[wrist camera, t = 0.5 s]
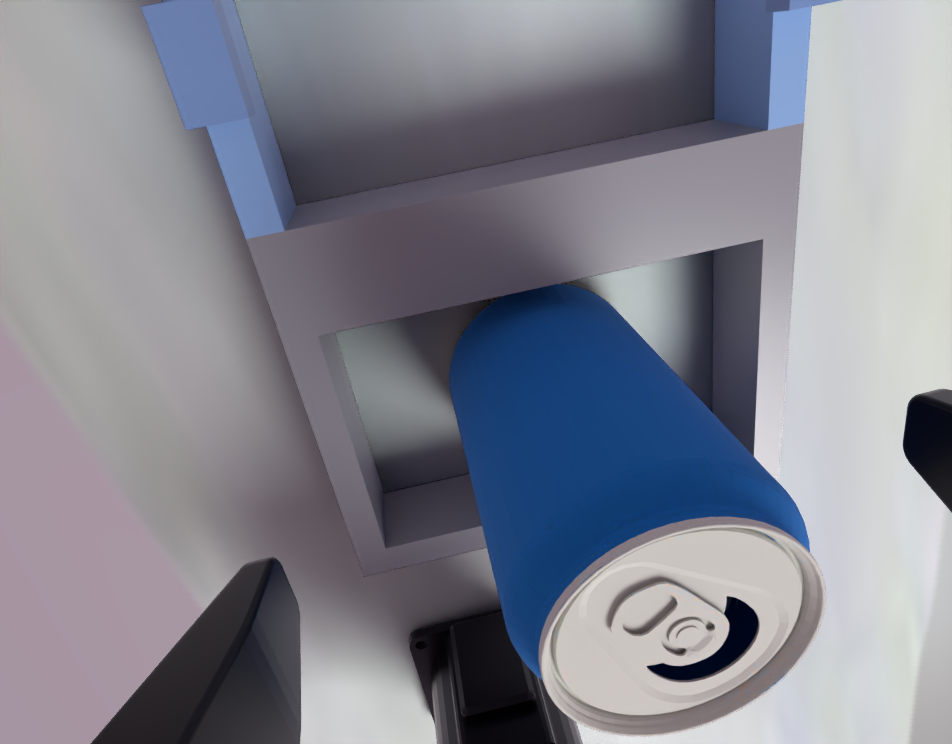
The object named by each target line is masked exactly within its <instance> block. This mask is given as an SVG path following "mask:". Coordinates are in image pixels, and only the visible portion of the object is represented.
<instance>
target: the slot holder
mask: <svg viewBox="0 0 952 744" xmlns="http://www.w3.org/2000/svg"><path fill="white" fill-rule="evenodd" d="M836 1H841V0H715V99H714V119H712V120H708V121H703V122H698V123H693V124H688V125H683V126H678V127H674V128H669V129H664V130H659V131H654V132H649V133H645V134H640V135H635V136H630V137H625V138H620V139H616V140H611V141H606V142H601V143H596V144H591V145H587V146H582V147H577V148H572V149H567V150H562V151H557V152H553V153H548V154H543V155H538V156H533V157H528V158H524V159H519V160H514V161H509V162H504V163H499V164H495V165H490V166H485V167H480V168H475V169H470V170H466V171H461V172H456V173H451V174H446V175H441V176H436V177H432V178H427V179H422V180H417V181H412V182H407V183H403V184H398V185H393V186H388V187H383V188H378V189H374V190H369V191H364V192H359V193H354V194H349V195H345V196H340V197H335V198H330V199H325V200H320V201H315V202H311V203H306V204H301V205H296V203H295V200H294V196H293V193H292V190H291V187H290V183H289V180H288V177H287V173H286V170H285V167H284V163H283V160H282V157H281V154H280V150H279V147H278V144H277V140H276V137H275V134H274V131H273V127H272V124H271V121H270V117H269V114H268V111H267V108H266V104H265V101H264V98H263V94H262V91H261V88H260V85H259V81H258V78H257V75H256V71H255V68H254V65H253V61H252V58H251V55H250V52H249V48H248V45H247V42H246V38H245V35H244V32H243V29H242V25H241V22H240V19H239V15H238V12H237V9H236V6H235V2H234V0H162V2H163V3H158V4H153V5H147V6H142V7H141V9H142V12H143V14H144V17H145V20H146V23H147V25H148V28H149V31H150V34H151V36H152V39H153V42H154V44H155V47H156V50H157V53H158V55H159V58H160V61H161V64H162V66H163V69H164V72H165V75H166V77H167V80H168V83H169V85H170V88H171V91H172V94H173V96H174V99H175V102H176V105H177V107H178V110H179V113H180V116H181V118H182V121H183V124H184V127H185V129H186V130H191V129H196V128H201V127H207V130H208V133H209V136H210V139H211V142H212V145H213V147H214V150H215V153H216V156H217V159H218V162H219V165H220V167H221V170H222V173H223V176H224V179H225V182H226V185H227V187H228V190H229V193H230V196H231V199H232V202H233V205H234V207H235V210H236V213H237V216H238V219H239V222H240V225H241V227H242V230H243V233H244V236H245V239H246V242H247V245H248V247H249V250H250V253H251V256H252V259H253V262H254V265H255V267H256V270H257V273H258V276H259V279H260V282H261V285H262V287H263V290H264V293H265V296H266V299H267V302H268V304H269V307H270V310H271V313H272V316H273V319H274V322H275V324H276V327H277V330H278V333H279V336H280V339H281V342H282V344H283V347H284V350H285V353H286V356H287V359H288V362H289V364H290V367H291V370H292V373H293V376H294V379H295V382H296V384H297V387H298V390H299V393H300V396H301V399H302V402H303V404H304V407H305V410H306V413H307V416H308V419H309V422H310V424H311V427H312V430H313V433H314V436H315V439H316V442H317V444H318V447H319V450H320V453H321V456H322V459H323V462H324V464H325V467H326V470H327V473H328V476H329V479H330V482H331V484H332V487H333V490H334V493H335V496H336V499H337V501H338V504H339V507H340V510H341V513H342V516H343V519H344V521H345V524H346V527H347V530H348V533H349V536H350V539H351V541H352V544H353V547H354V550H355V553H356V556H357V559H358V561H359V564H360V567H361V570H362V573H363V576H364V577H366V576H370V575H374V574H378V573H382V572H386V571H391V570H395V569H399V568H403V567H407V566H412V565H416V564H420V563H424V562H428V561H432V560H437V559H441V558H445V557H449V556H453V555H458V554H462V553H466V552H470V551H474V550H479V549H483V548H487V544H486V540H485V536H484V532H483V528H482V523H481V519H480V515H479V511H478V507H477V502H476V498H475V494H474V490H473V485H472V481H471V477H470V474H466V475H462V476H458V477H453V478H449V479H445V480H440V481H436V482H432V483H427V484H423V485H419V486H414V487H410V488H406V489H402V490H397V491H393V492H389V493H383V489H382V486H381V483H380V479H379V476H378V473H377V469H376V466H375V463H374V460H373V456H372V453H371V450H370V446H369V443H368V440H367V437H366V433H365V430H364V427H363V423H362V420H361V417H360V414H359V410H358V407H357V404H356V400H355V397H354V394H353V391H352V387H351V384H350V381H349V377H348V374H347V371H346V367H345V364H344V361H343V358H342V354H341V351H340V348H339V344H338V341H337V338H336V335H335V332H339V331H343V330H348V329H353V328H357V327H362V326H366V325H371V324H375V323H380V322H385V321H389V320H394V319H398V318H403V317H408V316H412V315H417V314H421V313H426V312H431V311H435V310H440V309H444V308H449V307H453V306H458V305H463V304H467V303H472V302H476V301H481V300H486V299H490V298H495V297H499V296H504V295H509V294H513V293H518V292H522V291H527V290H531V289H536V288H541V287H545V286H550V285H554V284H559V283H564V282H568V281H573V280H577V279H582V278H587V277H591V276H596V275H600V274H605V273H609V272H614V271H619V270H623V269H628V268H632V267H637V266H642V265H646V264H651V263H655V262H660V261H665V260H669V259H674V258H678V257H683V256H687V255H692V254H697V253H701V252H706V251H710V250H714V265H713V414H714V415H715V416H716V417H717V418H718V419H719V420H720V421H721V422H722V423H723V424H724V426H725V427H726V428H727V429H728V430H729V431H730V432H731V433H732V434H733V435H734V436H735V437H736V438H737V439H738V440H739V441H740V443H741V444H742V445H743V446H744V447H745V448H746V449H747V450H748V451H749V452H750V453H751V454H752V455H753V456H754V457H755V458H756V460H757V461H758V462H759V463H760V464H761V465H762V466H763V467H764V468H765V469H766V470H767V471H768V472H769V473H770V474H771V475H772V477H773V478H774V479H776V478H779V476H780V462H781V447H782V433H783V418H784V403H785V389H786V374H787V360H788V345H789V331H790V316H791V301H792V287H793V272H794V258H795V243H796V228H797V214H798V199H799V185H800V170H801V155H802V141H803V126H804V112H805V97H806V82H807V68H808V53H809V39H810V24H811V9H812V6H815V5H821V4H826V3H831V2H836Z"/></svg>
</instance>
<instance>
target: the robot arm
mask: <svg viewBox="0 0 952 744" xmlns="http://www.w3.org/2000/svg"><path fill="white" fill-rule="evenodd" d="M903 450H904V453H905V456H906V458H907V459H908V461H909V462H910V464H911V465H912V466H913V467H914V469H915V470H916V471H917V472H918V473H919V474H920V476H921V477H922V478H923V479H924V480H925V481H926V483H927V484H928V485H929V486H930V487H931V489H932V490H933V491H934V492H935V493H936V494H937V496H938V497H939V498H940V499H941V500H942V502H943V503H944V504H945V505H946V506H947V507H948V509H949V510H950V511H951V512H952V390H948V389H938V390H934V391H930V392H926V393H922V394H918V395H916V396H914V397H913V398H911V400H910V402H909V403H908V407H907V415H906V422H905V430H904V438H903ZM419 641H422V642H419ZM409 643H410V650H411V653H412V656H413V659H414V662H415V665H416V668H417V671H418V674H419V677H420V680H421V684H422V687H423V690H424V693H425V696H426V699H427V702H428V705H429V708H430V711H431V714H432V717H433V720H434V723H435V728H436V738H437V744H583V743H582V740H581V737H580V733H579V730H578V727H577V724H576V721H574V720H572V719H571V718H570V717H568V716H567V715H566V714H564V713H563V712H562V711H561V710H560V709H559V708H558V707H557V706H556V705H555V704H554V702H553V700H552V699H551V697H550V696H549V694H548V692H547V690H546V688H545V685H544V682H543V680H541V679H540V678H539V677H538V676H536V675H535V674H534V673H533V672H532V670H531V669H530V668H529V667H528V666H527V665H526V664H525V663H524V662H523V660H522V659H521V657H520V656H519V654H518V653H517V651H516V650H515V648H514V646H513V644H512V642H511V640H510V637H509V635H508V632H507V629H506V624H505V620H504V616H503V612H502V609H500V610H496V611H492V612H488V613H484V614H480V615H476V616H472V617H468V618H464V619H460V620H455V621H451V622H447V623H443V624H439V625H435V626H431V627H427V628H423V629H419V630H416V631H414V632H413V633H411V635H410V637H409ZM300 733H301V658H300V613H299V607H298V603H297V600H296V597H295V595H294V593H293V590H292V588H291V586H290V584H289V581H288V579H287V577H286V574H285V572H284V570H283V567H282V565H281V563H280V562H279V561H278V560H277V559H276V558H273V557H270V558H266V559H262V560H258V561H254V562H250V563H247V564H245V565H244V566H243V567H242V568H241V569H240V570H239V571H238V572H237V573H236V575H235V576H234V577H233V578H232V579H231V580H230V582H229V583H228V584H227V585H226V586H225V587H224V589H223V590H222V591H221V592H220V593H219V594H218V596H217V597H216V598H215V599H214V600H213V602H212V603H211V604H210V605H209V606H208V607H207V609H206V610H205V611H204V612H203V613H202V614H201V616H200V617H199V618H198V619H197V620H196V621H195V623H194V624H193V625H192V626H191V627H190V628H189V630H188V631H187V632H186V633H185V634H184V635H183V637H182V638H181V639H180V640H179V641H178V643H177V644H176V645H175V646H174V647H173V648H172V649H171V651H170V652H169V653H168V654H167V655H166V656H165V658H164V659H163V660H162V661H161V662H160V663H159V665H158V666H157V667H156V668H155V669H154V671H153V672H152V673H151V674H150V675H149V676H148V677H147V679H146V680H145V681H144V682H143V683H142V684H141V686H140V687H139V688H138V689H137V690H136V691H135V693H134V694H133V695H132V696H131V697H130V698H129V700H128V701H127V702H126V703H125V704H124V705H123V707H122V708H121V709H120V710H119V711H118V712H117V714H116V715H115V716H114V717H113V718H112V719H111V721H110V722H109V723H108V724H107V725H106V727H105V728H104V729H103V730H102V731H101V732H100V733H99V735H98V736H97V737H96V738H95V739H94V740H93V742H92V743H91V744H300Z"/></svg>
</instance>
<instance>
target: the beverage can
mask: <svg viewBox="0 0 952 744" xmlns="http://www.w3.org/2000/svg"><path fill="white" fill-rule="evenodd" d="M449 383H450V392H451V397H452V401H453V405H454V410H455V414H456V418H457V422H458V427H459V431H460V435H461V439H462V443H463V448H464V452H465V456H466V460H467V464H468V469H469V473H470V477H471V481H472V485H473V490H474V494H475V498H476V502H477V507H478V511H479V515H480V519H481V523H482V528H483V532H484V536H485V540H486V544H487V549H488V553H489V557H490V561H491V565H492V570H493V574H494V578H495V582H496V587H497V591H498V595H499V599H500V603H501V608H502V612H503V616H504V620H505V624H506V629H507V632H508V635H509V637H510V640H511V642H512V644H513V646H514V648H515V650H516V651H517V653H518V654H519V656H520V657H521V659H522V660H523V662H524V663H525V664H526V665H527V666H528V667H529V668H530V669H531V670H532V672H533V673H534V674H535V675H536V676H538V677H539V678H540V679H541V680H543V682H544V685H545V688H546V690H547V692H548V694H549V696H550V697H551V699H552V700H553V702H554V704H555V705H556V706H557V707H558V708H559V709H560V710H561V711H562V712H563V713H564V714H566V715H567V716H568V717H570V718H571V719H572V720H574V721H576V722H578V723H580V724H582V725H584V726H585V727H588V728H591V729H594V730H597V731H600V732H604V733H609V734H613V735H621V736H640V737H646V736H659V735H666V734H672V733H678V732H683V731H687V730H691V729H695V728H698V727H701V726H704V725H707V724H710V723H713V722H715V721H717V720H720V719H722V718H724V717H727V716H729V715H731V714H733V713H735V712H737V711H739V710H741V709H743V708H744V707H746V706H748V705H749V704H751V703H753V702H754V701H756V700H757V699H759V698H760V697H762V696H763V695H764V694H766V693H767V692H769V691H770V690H771V689H773V688H774V687H775V686H776V685H777V684H778V683H779V682H781V681H782V680H783V679H784V678H785V677H786V676H787V675H788V674H789V673H790V672H791V671H792V670H793V669H794V668H795V667H796V666H797V664H798V663H799V662H800V660H801V659H802V658H803V657H804V655H805V654H806V653H807V651H808V649H809V648H810V646H811V645H812V643H813V641H814V639H815V637H816V635H817V633H818V631H819V629H820V626H821V623H822V619H823V616H824V612H825V605H826V587H825V583H824V579H823V575H822V573H821V571H820V568H819V566H818V564H817V562H816V561H815V559H814V558H813V556H812V555H811V554H810V547H809V539H808V535H807V531H806V527H805V523H804V520H803V518H802V516H801V514H800V512H799V510H798V508H797V506H796V504H795V502H794V501H793V500H792V498H791V497H790V495H789V494H788V493H787V491H786V490H785V489H784V488H783V487H782V486H781V485H780V484H779V483H778V482H777V481H776V480H775V479H774V478H773V477H772V475H771V474H770V473H769V472H768V471H767V470H766V469H765V468H764V467H763V466H762V465H761V464H760V463H759V462H758V461H757V460H756V458H755V457H754V456H753V455H752V454H751V453H750V452H749V451H748V450H747V449H746V448H745V447H744V446H743V445H742V444H741V443H740V441H739V440H738V439H737V438H736V437H735V436H734V435H733V434H732V433H731V432H730V431H729V430H728V429H727V428H726V427H725V426H724V424H723V423H722V422H721V421H720V420H719V419H718V418H717V417H716V416H715V415H714V414H713V413H712V412H711V411H710V410H709V409H708V407H707V406H706V405H705V404H704V403H703V402H702V401H701V400H700V399H699V398H698V397H697V396H696V395H695V394H694V393H693V392H692V390H691V389H690V388H689V387H688V386H687V385H686V384H685V383H684V382H683V381H682V380H681V379H680V378H679V377H678V376H677V374H676V373H675V372H674V371H673V370H672V369H671V368H670V367H669V366H668V365H667V364H666V363H665V362H664V361H663V360H662V359H661V357H660V356H659V355H658V354H657V353H656V352H655V351H654V350H653V349H652V348H651V347H650V346H649V345H648V344H647V343H646V342H645V340H644V339H643V338H642V337H641V336H640V335H639V334H638V333H637V332H636V331H635V330H634V329H633V328H632V327H631V326H630V325H629V323H628V322H627V321H626V320H625V319H624V318H623V317H622V316H621V315H620V314H619V313H618V312H617V311H616V310H615V309H614V308H613V307H612V306H611V305H610V304H609V303H608V302H607V301H605V300H604V299H602V298H601V297H600V296H598V295H596V294H594V293H592V292H590V291H588V290H585V289H582V288H579V287H576V286H571V285H565V284H554V285H550V286H545V287H541V288H536V289H531V290H527V291H522V292H518V293H513V294H509V295H504V296H502V297H500V298H499V299H497V300H496V301H494V302H493V303H491V304H489V305H488V306H487V307H486V308H485V309H483V310H482V311H481V312H480V313H479V314H478V315H477V316H476V317H475V318H474V319H473V320H472V321H471V322H470V324H469V325H468V326H467V328H466V329H465V331H464V332H463V334H462V335H461V337H460V339H459V341H458V343H457V345H456V348H455V350H454V353H453V356H452V361H451V365H450V374H449Z"/></svg>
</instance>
